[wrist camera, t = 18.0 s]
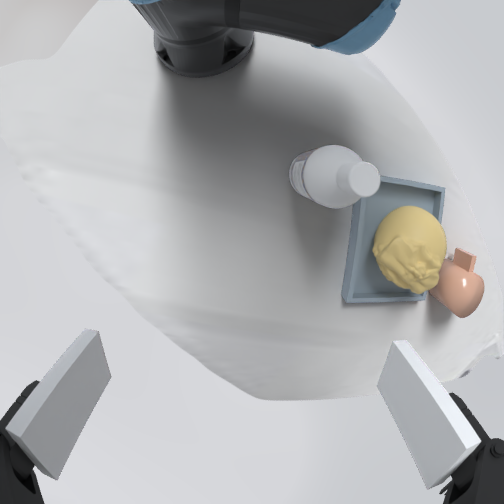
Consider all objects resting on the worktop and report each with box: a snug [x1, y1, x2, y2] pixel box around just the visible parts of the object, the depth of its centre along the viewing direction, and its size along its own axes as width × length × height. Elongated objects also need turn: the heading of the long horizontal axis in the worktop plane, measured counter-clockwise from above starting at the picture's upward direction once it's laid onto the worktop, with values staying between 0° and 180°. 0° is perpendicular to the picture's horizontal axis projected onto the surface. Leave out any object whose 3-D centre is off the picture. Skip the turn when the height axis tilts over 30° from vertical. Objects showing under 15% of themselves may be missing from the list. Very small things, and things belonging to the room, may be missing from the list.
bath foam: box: [289, 145, 381, 209], centre depth 30 cm, size 7×7×20 cm
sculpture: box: [372, 206, 447, 294], centre depth 36 cm, size 12×12×11 cm
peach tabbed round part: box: [429, 248, 484, 318], centre depth 40 cm, size 8×11×9 cm
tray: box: [341, 176, 445, 303], centre depth 41 cm, size 20×16×3 cm
